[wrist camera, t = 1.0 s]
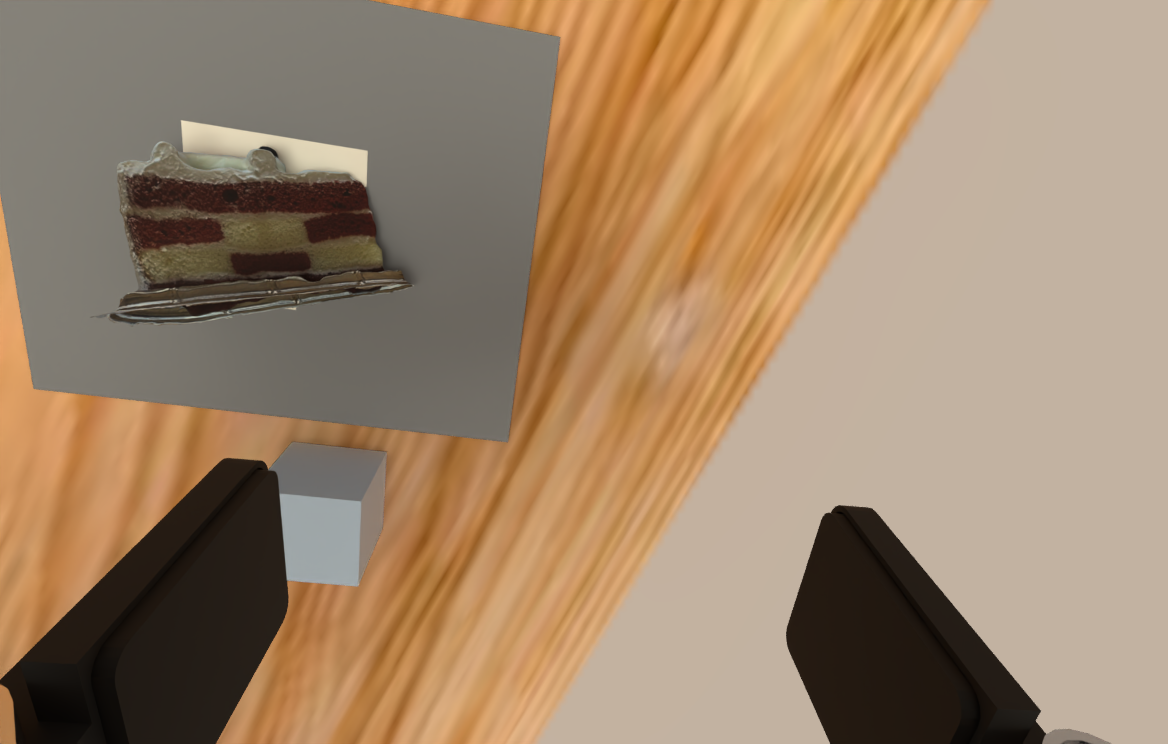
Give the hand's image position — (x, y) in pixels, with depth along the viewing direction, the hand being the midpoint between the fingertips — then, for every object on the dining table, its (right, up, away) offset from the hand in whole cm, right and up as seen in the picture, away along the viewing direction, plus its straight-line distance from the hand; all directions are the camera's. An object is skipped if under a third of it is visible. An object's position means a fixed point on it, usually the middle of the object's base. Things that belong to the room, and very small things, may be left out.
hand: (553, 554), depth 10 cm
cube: (-13, -3, +23) cm, 27 cm away
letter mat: (-14, +10, +18) cm, 25 cm away
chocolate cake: (-14, +10, +18) cm, 25 cm away
